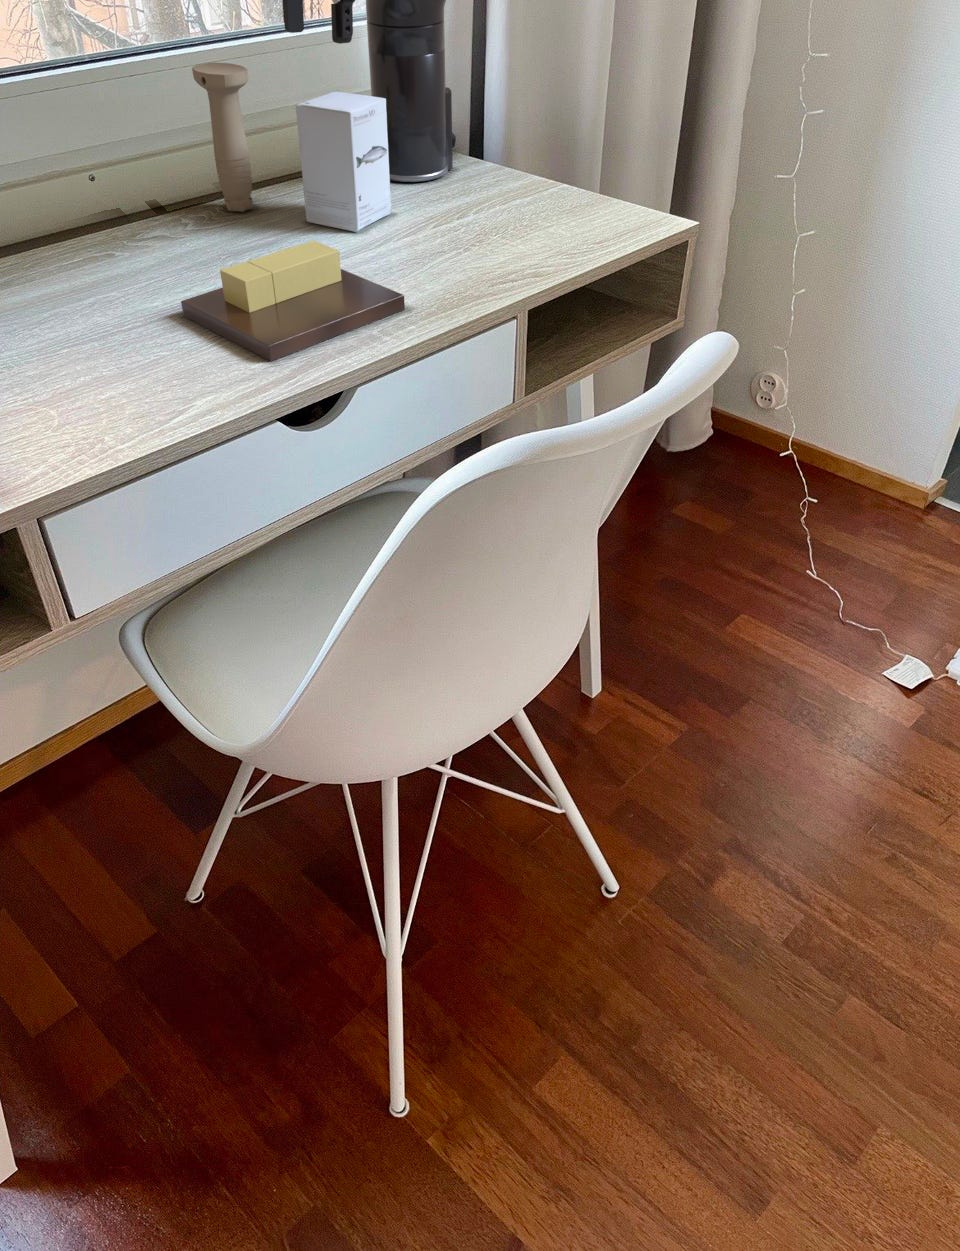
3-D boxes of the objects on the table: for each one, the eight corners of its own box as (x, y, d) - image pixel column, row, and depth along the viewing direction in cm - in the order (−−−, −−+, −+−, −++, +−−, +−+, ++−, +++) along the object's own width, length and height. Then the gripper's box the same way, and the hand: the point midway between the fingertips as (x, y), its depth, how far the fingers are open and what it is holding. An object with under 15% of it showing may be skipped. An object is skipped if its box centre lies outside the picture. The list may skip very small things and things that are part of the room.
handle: (242, 219, 121) (221, 76, 111) (206, 208, 124) (183, 68, 114) (273, 209, 124) (255, 68, 114) (237, 197, 127) (217, 60, 117)
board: (315, 271, 109) (313, 257, 108) (405, 309, 101) (404, 294, 100) (183, 316, 100) (180, 300, 99) (271, 361, 92) (268, 345, 91)
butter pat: (250, 292, 100) (246, 261, 99) (275, 303, 98) (271, 272, 96) (224, 301, 99) (219, 269, 97) (249, 313, 97) (244, 281, 95)
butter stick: (316, 270, 105) (313, 240, 103) (341, 280, 103) (339, 250, 101) (251, 292, 101) (246, 261, 99) (276, 303, 98) (272, 272, 96)
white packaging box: (358, 233, 117) (349, 112, 109) (304, 222, 120) (292, 103, 112) (393, 214, 122) (387, 96, 114) (341, 204, 125) (332, 88, 117)
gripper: (384, -138, 105) (385, 44, 115) (297, -145, 113) (305, 26, 122) (325, -141, 101) (331, 49, 110) (239, -148, 108) (252, 30, 118)
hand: (317, 37), depth 116 cm, fingers open, 8 cm apart
